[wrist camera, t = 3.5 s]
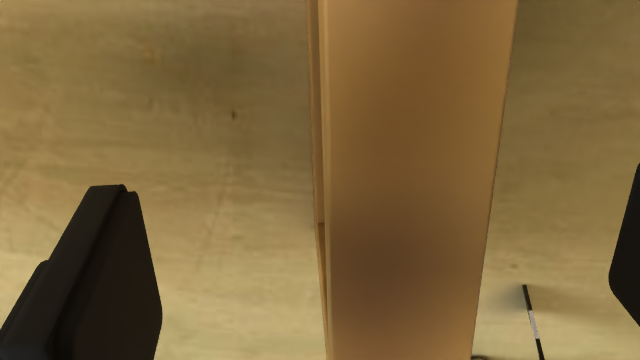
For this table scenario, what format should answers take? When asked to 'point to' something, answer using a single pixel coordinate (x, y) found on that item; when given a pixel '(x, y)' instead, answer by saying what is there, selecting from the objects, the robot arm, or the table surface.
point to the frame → (404, 168)
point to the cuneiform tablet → (533, 325)
